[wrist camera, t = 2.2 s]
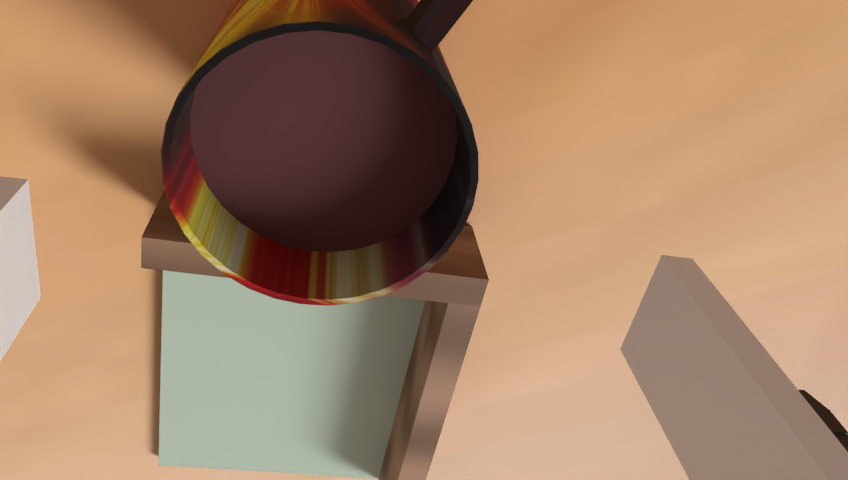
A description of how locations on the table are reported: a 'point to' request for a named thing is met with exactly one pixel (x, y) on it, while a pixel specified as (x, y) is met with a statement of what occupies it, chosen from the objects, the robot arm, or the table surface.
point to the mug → (323, 147)
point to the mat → (279, 379)
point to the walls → (433, 348)
